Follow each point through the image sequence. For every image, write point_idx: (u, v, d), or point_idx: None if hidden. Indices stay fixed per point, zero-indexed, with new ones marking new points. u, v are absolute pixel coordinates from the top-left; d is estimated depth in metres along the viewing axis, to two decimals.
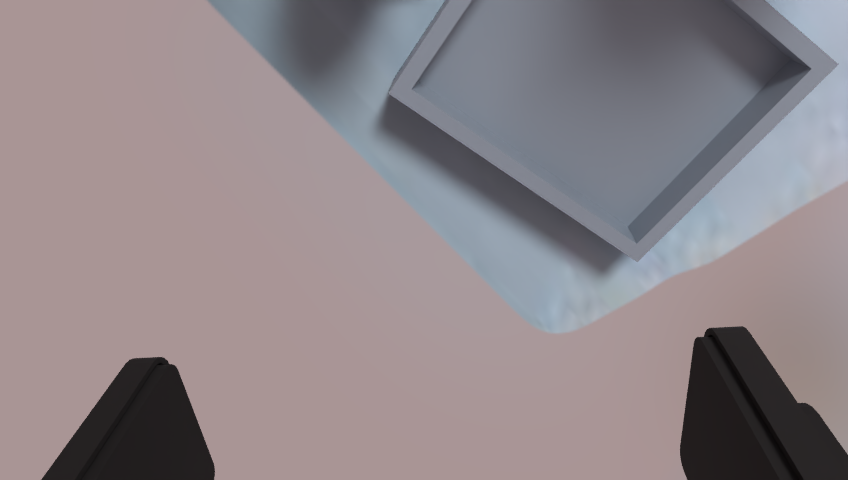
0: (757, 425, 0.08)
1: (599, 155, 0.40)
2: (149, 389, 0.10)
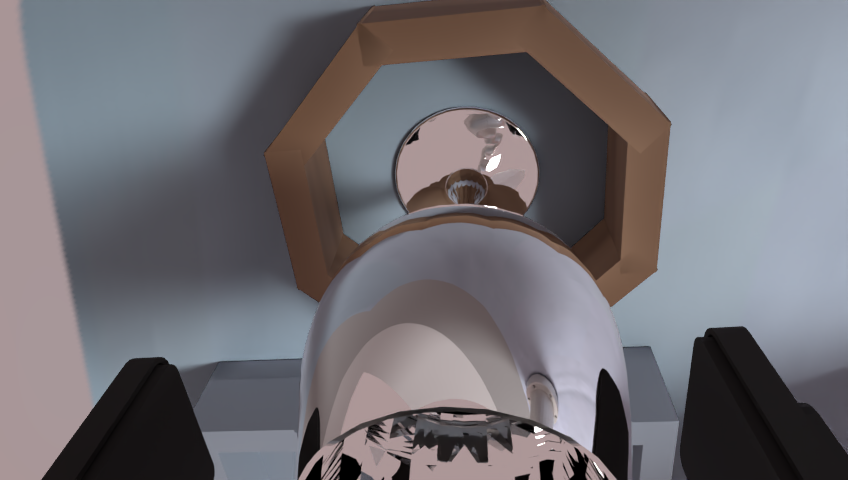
0: (757, 425, 0.08)
1: None
2: (149, 389, 0.10)
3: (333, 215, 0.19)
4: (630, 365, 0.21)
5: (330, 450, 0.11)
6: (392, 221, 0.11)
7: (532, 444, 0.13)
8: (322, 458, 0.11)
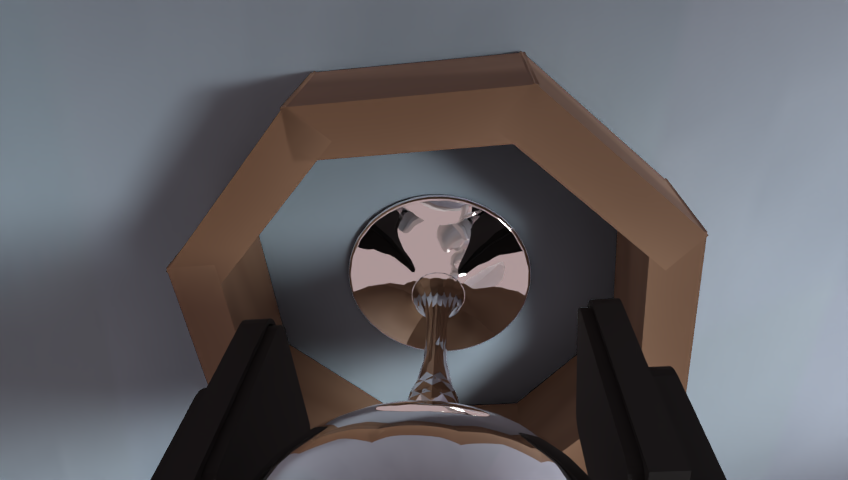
0: (608, 380, 0.09)
1: None
2: (266, 346, 0.11)
3: None
4: None
5: None
6: (309, 440, 0.07)
7: None
8: None
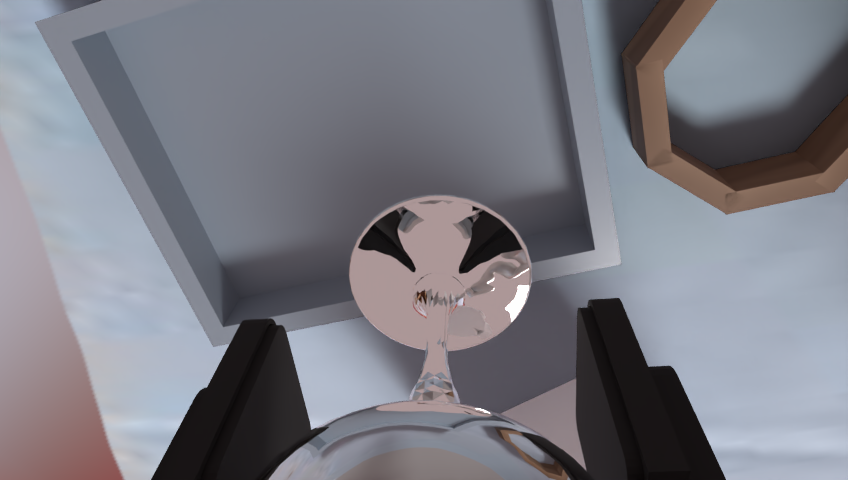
0: (608, 380, 0.09)
1: (242, 63, 0.26)
2: (267, 346, 0.11)
3: None
4: None
5: None
6: (312, 440, 0.07)
7: None
8: None
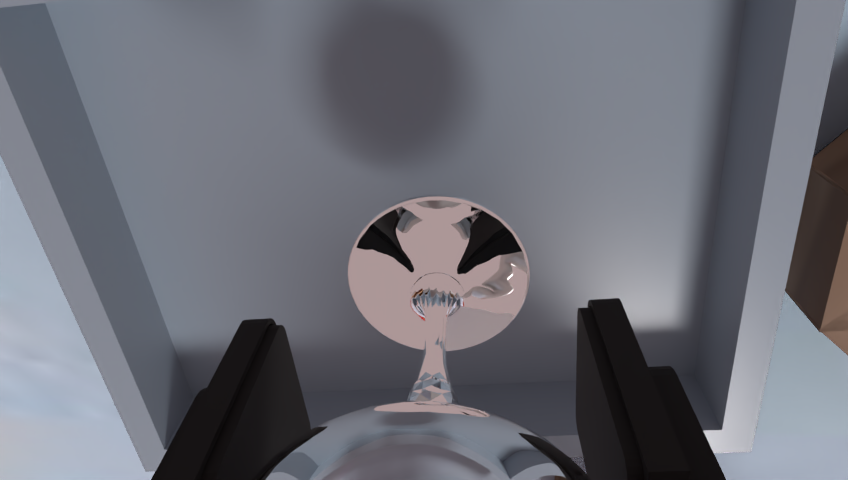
0: (608, 380, 0.09)
1: (256, 85, 0.17)
2: (267, 346, 0.11)
3: None
4: None
5: None
6: (308, 441, 0.07)
7: None
8: None
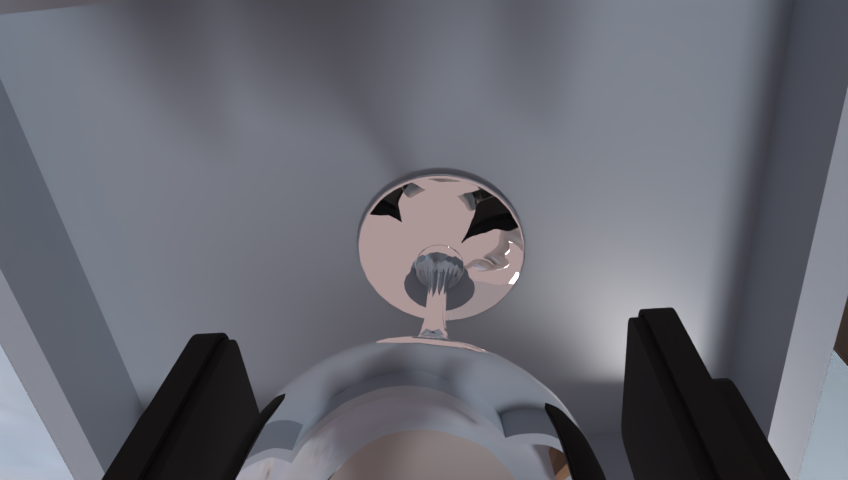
0: (671, 395, 0.09)
1: (222, 111, 0.15)
2: (215, 361, 0.11)
3: None
4: None
5: None
6: (321, 364, 0.09)
7: None
8: None
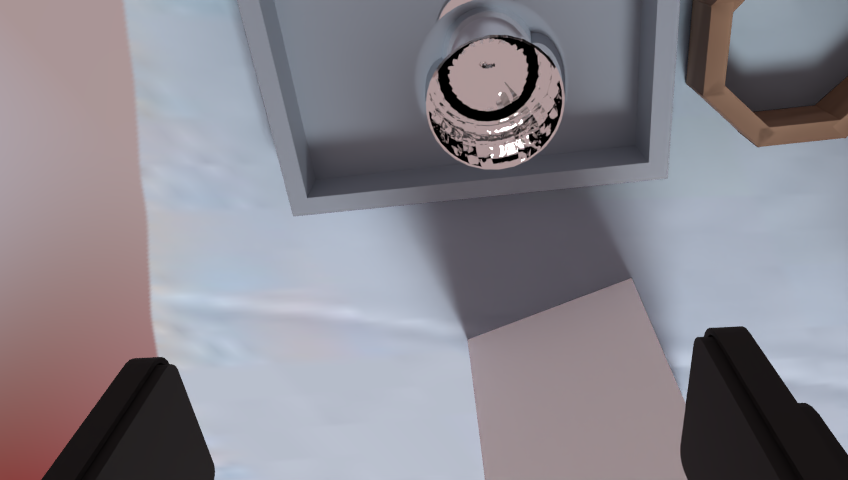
0: (757, 425, 0.08)
1: None
2: (149, 389, 0.10)
3: None
4: None
5: None
6: None
7: (525, 133, 0.25)
8: None
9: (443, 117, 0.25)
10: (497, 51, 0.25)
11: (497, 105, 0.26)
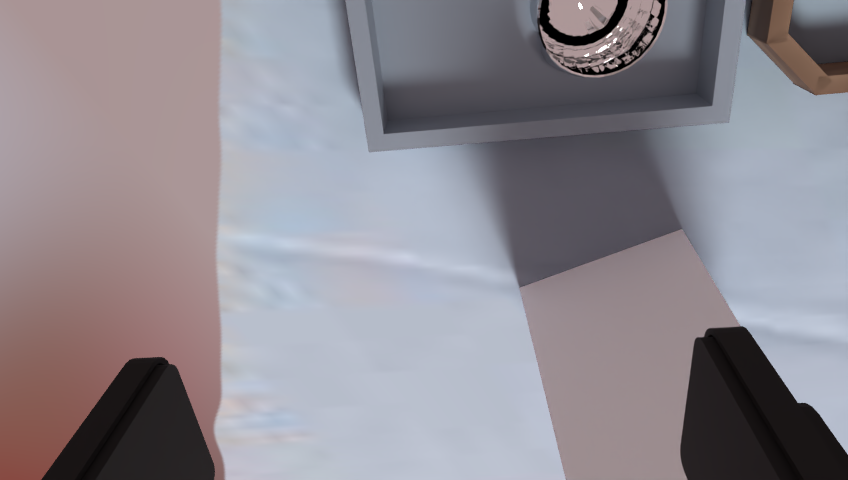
0: (757, 425, 0.08)
1: None
2: (149, 389, 0.10)
3: None
4: None
5: None
6: None
7: (612, 57, 0.26)
8: None
9: None
10: None
11: (583, 34, 0.28)
